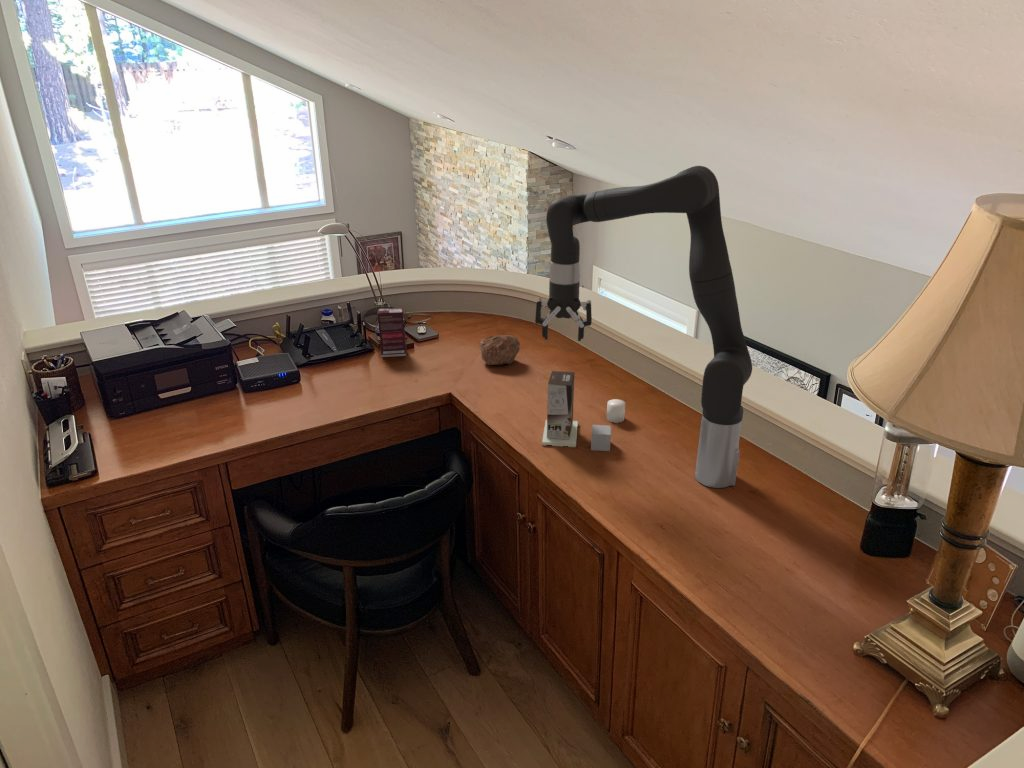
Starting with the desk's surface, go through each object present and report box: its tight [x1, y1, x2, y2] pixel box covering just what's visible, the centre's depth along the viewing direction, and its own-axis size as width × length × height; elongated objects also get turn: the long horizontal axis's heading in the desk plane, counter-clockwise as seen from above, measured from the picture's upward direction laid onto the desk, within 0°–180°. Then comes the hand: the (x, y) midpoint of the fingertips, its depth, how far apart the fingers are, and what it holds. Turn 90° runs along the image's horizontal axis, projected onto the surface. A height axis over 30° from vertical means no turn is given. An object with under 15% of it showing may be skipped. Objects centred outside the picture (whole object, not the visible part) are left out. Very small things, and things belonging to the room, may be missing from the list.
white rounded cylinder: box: [606, 398, 626, 424], centre depth 213 cm, size 5×5×5 cm
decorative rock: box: [478, 334, 521, 366], centre depth 249 cm, size 13×11×10 cm
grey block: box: [590, 424, 612, 452], centre depth 199 cm, size 5×5×5 cm
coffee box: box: [546, 370, 575, 440], centre depth 202 cm, size 9×6×16 cm
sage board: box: [541, 418, 579, 448], centre depth 206 cm, size 9×13×1 cm
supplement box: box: [376, 307, 407, 358], centre depth 254 cm, size 9×5×16 cm, turn 97°
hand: (562, 339), depth 194 cm, fingers open, 8 cm apart
